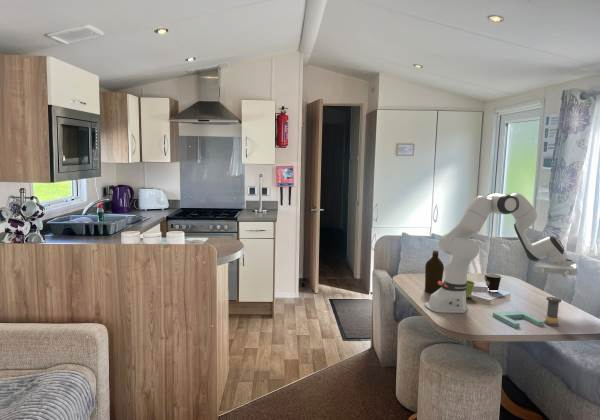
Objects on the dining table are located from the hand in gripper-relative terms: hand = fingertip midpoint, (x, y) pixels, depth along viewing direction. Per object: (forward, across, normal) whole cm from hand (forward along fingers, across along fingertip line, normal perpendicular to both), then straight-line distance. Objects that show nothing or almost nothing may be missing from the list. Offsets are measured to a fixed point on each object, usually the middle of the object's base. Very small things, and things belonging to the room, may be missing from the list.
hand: (553, 274), depth 236 cm
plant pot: (-3, -46, +20) cm, 50 cm away
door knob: (+16, 0, +20) cm, 26 cm away
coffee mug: (-26, -36, +24) cm, 51 cm away
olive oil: (0, -64, +18) cm, 67 cm away
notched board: (+22, -14, +18) cm, 32 cm away
